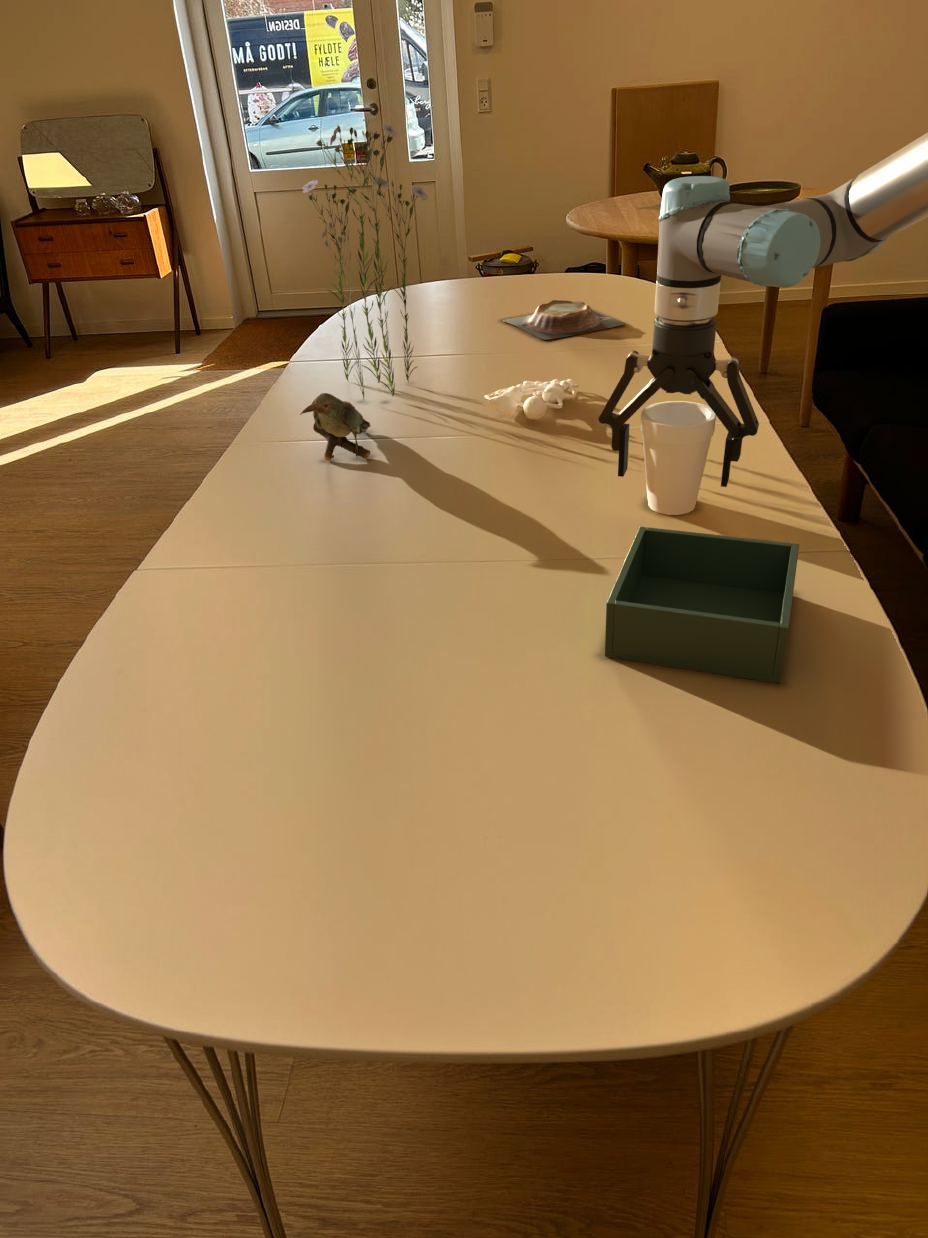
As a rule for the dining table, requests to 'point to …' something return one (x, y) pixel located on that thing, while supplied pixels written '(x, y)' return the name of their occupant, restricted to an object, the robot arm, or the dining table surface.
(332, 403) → the bird figurine
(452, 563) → the dining table surface
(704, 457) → the foam cup
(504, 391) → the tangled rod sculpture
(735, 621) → the dish tub
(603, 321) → the quiche
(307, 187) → the wildflower
